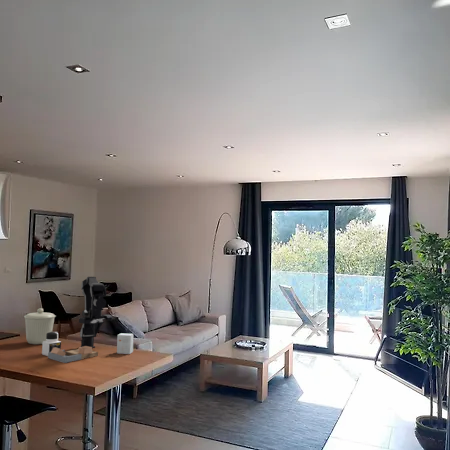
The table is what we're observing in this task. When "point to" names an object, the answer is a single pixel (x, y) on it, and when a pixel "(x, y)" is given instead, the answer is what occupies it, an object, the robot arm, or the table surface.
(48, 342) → the medicine bottle
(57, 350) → the tile
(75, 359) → the tray
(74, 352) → the board
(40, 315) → the canister
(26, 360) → the table surface
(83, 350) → the peach square block
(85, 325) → the robot arm
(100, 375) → the table surface
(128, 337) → the small box
